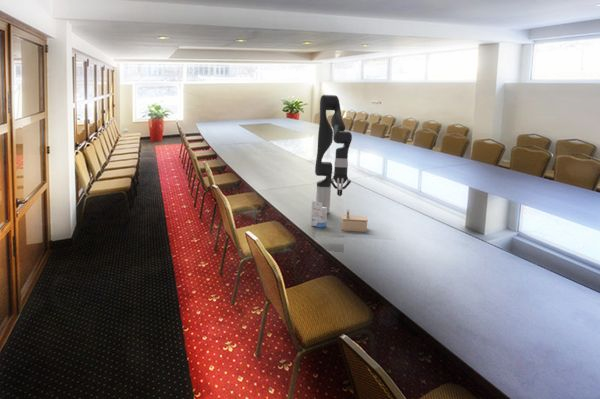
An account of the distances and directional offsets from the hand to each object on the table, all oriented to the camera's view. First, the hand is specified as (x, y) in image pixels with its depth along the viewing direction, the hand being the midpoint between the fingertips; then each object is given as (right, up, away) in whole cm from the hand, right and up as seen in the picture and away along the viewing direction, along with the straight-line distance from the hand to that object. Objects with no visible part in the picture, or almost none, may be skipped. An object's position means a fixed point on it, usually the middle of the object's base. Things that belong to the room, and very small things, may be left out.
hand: (339, 195), depth 234 cm
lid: (+9, -13, +1) cm, 16 cm away
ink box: (-12, -18, +7) cm, 23 cm away
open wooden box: (+9, -19, +2) cm, 21 cm away
